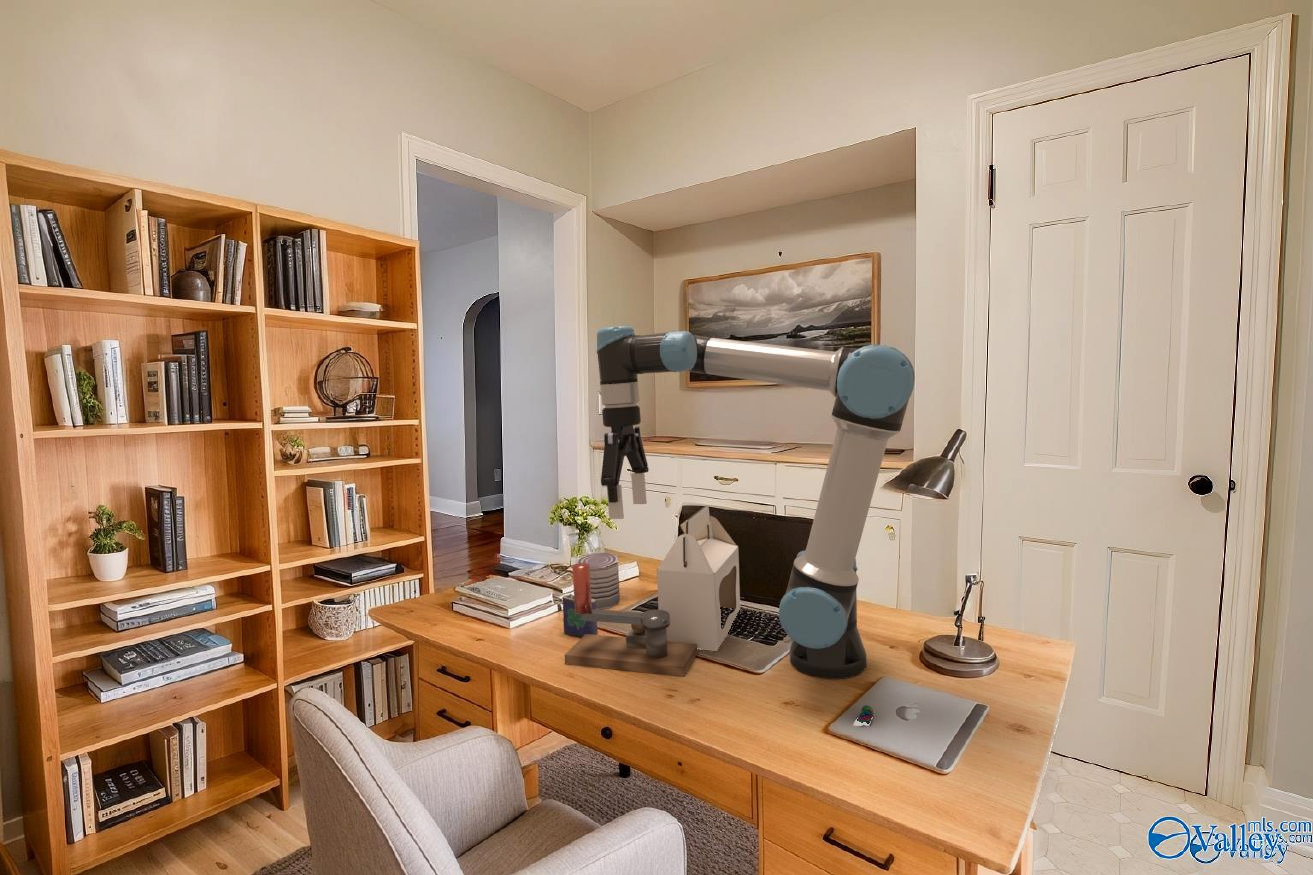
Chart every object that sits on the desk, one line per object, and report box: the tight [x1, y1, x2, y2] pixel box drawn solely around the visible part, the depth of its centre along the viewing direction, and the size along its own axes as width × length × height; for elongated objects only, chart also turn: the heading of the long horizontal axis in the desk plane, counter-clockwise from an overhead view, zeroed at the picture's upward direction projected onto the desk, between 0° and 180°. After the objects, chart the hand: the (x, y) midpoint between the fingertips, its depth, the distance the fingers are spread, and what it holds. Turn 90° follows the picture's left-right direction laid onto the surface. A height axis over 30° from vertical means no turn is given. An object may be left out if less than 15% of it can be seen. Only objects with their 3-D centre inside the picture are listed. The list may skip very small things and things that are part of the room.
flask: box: [561, 593, 599, 639], centre depth 152 cm, size 9×3×11 cm, turn 61°
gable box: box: [656, 505, 741, 651], centre depth 151 cm, size 22×13×28 cm, turn 160°
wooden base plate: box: [564, 624, 698, 677], centre depth 139 cm, size 26×11×8 cm, turn 72°
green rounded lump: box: [857, 704, 874, 724], centre depth 111 cm, size 4×3×2 cm, turn 150°
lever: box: [571, 563, 670, 630], centre depth 137 cm, size 21×6×12 cm, turn 74°
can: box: [575, 551, 621, 610], centre depth 173 cm, size 11×11×12 cm
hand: (628, 511), depth 132 cm, fingers open, 13 cm apart
